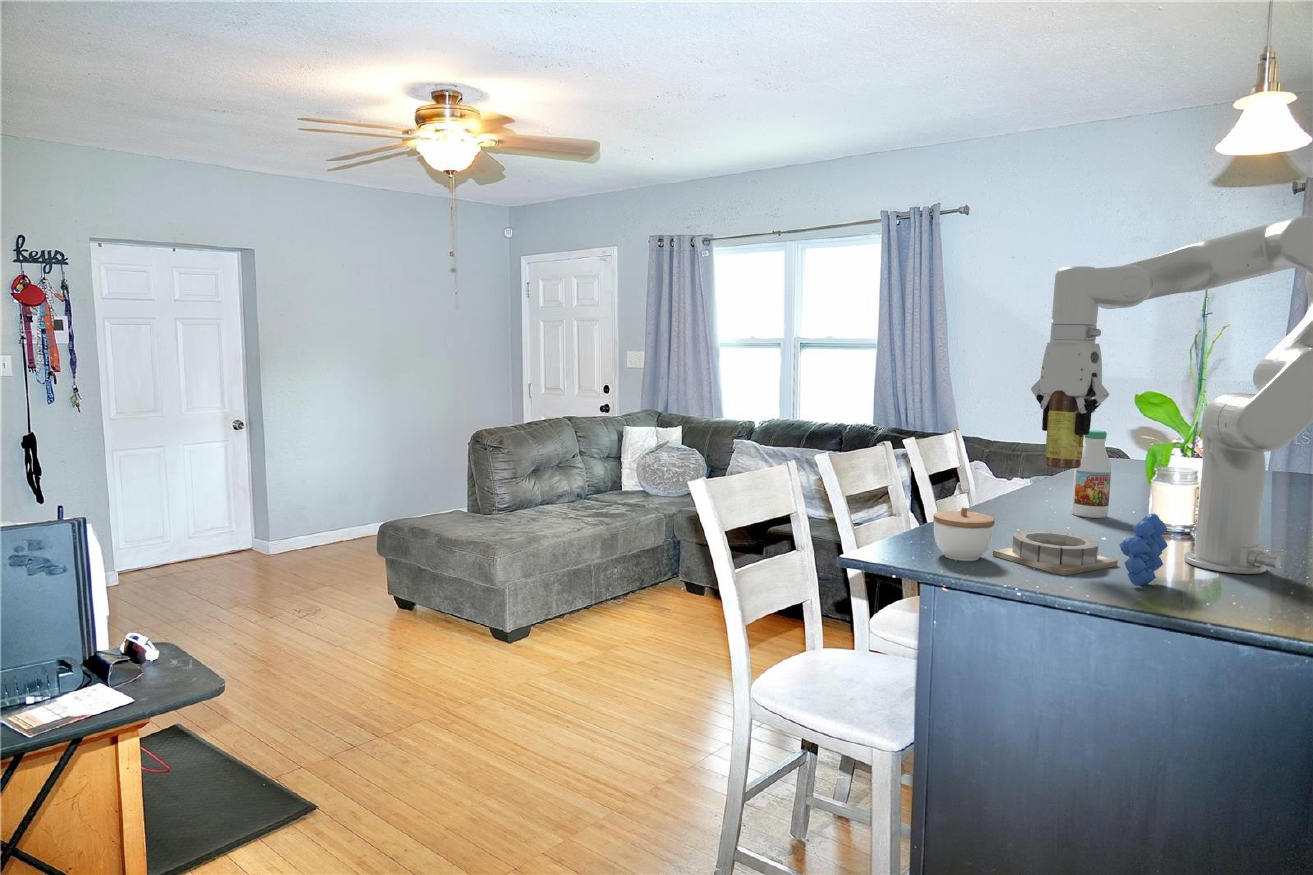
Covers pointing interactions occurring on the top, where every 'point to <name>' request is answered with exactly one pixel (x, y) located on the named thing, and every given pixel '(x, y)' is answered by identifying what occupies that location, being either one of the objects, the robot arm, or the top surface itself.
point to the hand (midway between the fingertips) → (1065, 431)
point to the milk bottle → (1092, 478)
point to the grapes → (1145, 550)
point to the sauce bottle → (1063, 433)
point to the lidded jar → (963, 534)
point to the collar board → (1055, 552)
